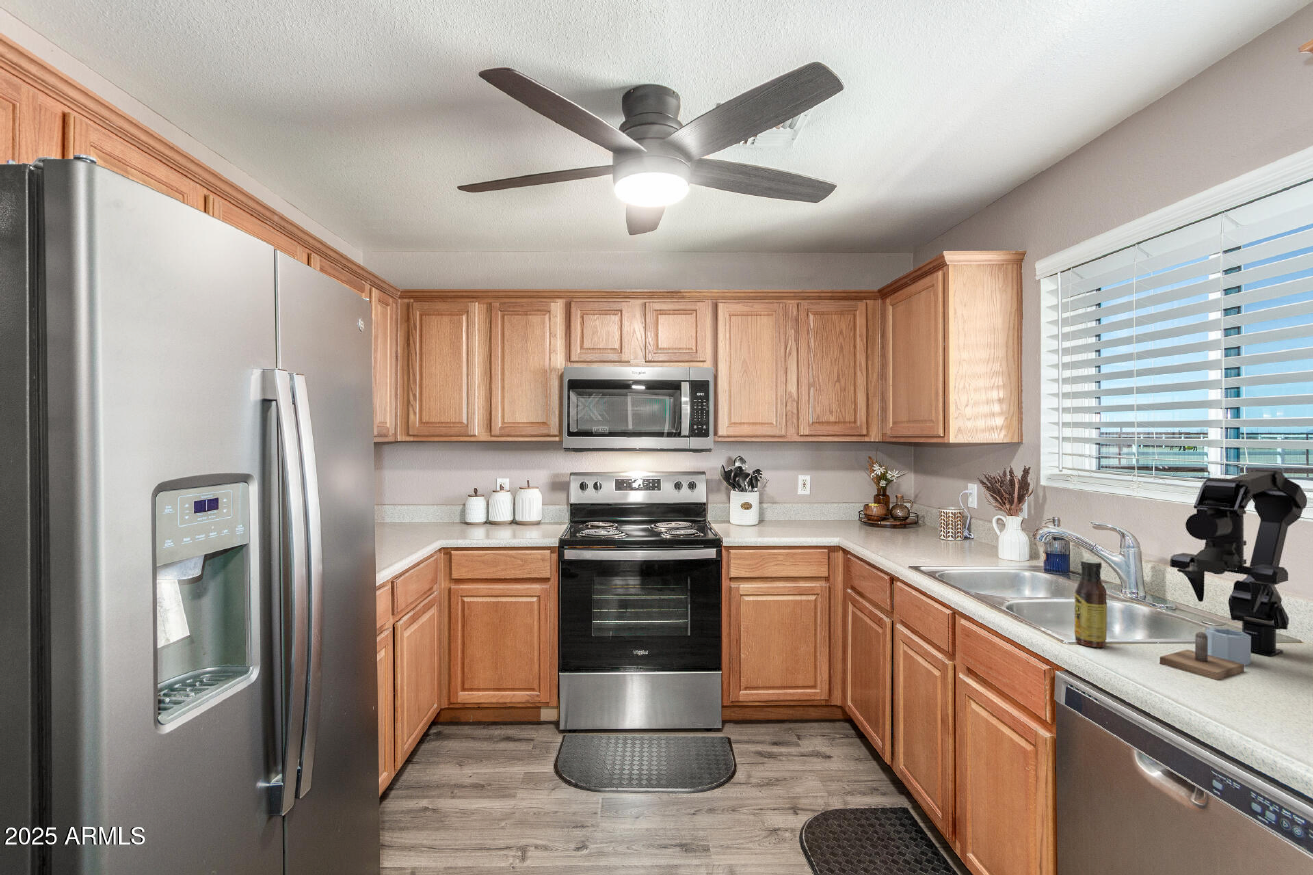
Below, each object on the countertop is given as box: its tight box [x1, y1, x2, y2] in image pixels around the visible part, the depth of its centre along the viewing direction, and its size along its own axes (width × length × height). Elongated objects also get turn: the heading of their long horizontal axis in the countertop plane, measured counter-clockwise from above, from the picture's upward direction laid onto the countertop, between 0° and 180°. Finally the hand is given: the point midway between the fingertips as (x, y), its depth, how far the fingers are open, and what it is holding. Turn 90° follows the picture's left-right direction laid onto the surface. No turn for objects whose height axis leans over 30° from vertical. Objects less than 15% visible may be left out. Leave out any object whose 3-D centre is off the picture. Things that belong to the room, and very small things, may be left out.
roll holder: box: [1159, 631, 1245, 681], centre depth 134 cm, size 11×10×8 cm
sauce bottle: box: [1074, 558, 1108, 649], centre depth 149 cm, size 7×6×20 cm
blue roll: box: [1205, 626, 1252, 666], centre depth 139 cm, size 7×7×6 cm
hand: (1226, 606), depth 139 cm, fingers open, 9 cm apart
